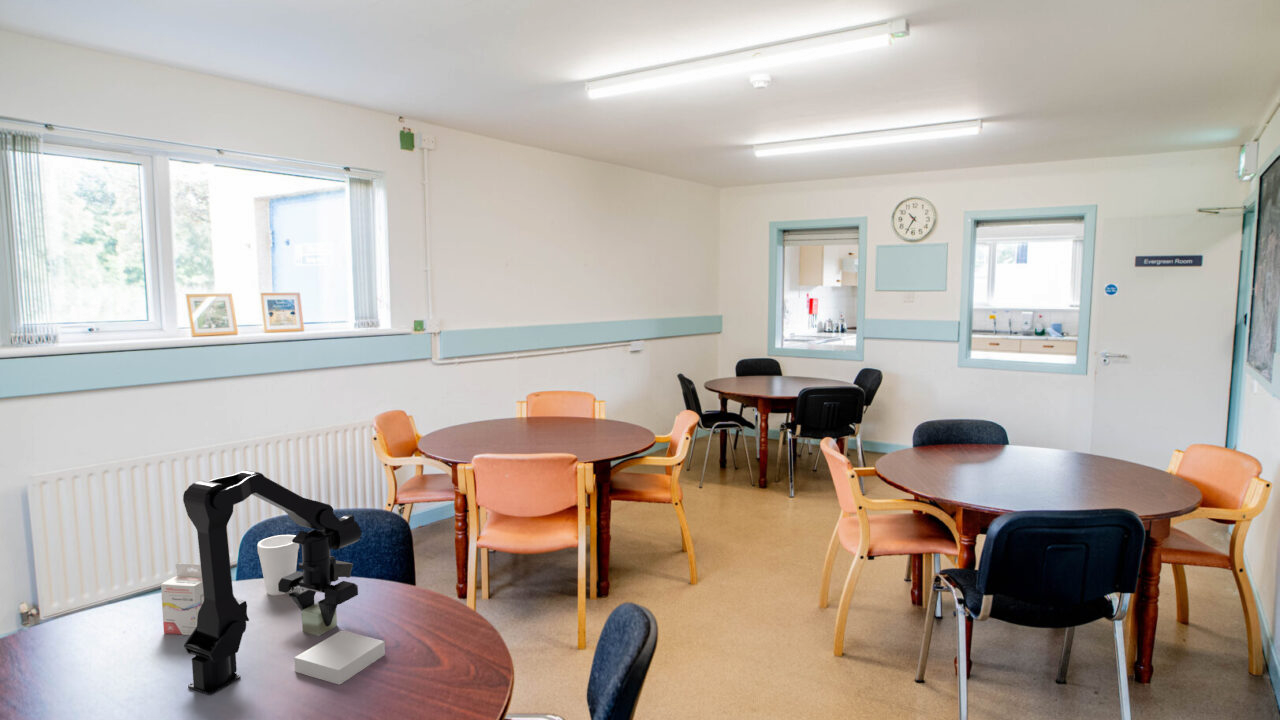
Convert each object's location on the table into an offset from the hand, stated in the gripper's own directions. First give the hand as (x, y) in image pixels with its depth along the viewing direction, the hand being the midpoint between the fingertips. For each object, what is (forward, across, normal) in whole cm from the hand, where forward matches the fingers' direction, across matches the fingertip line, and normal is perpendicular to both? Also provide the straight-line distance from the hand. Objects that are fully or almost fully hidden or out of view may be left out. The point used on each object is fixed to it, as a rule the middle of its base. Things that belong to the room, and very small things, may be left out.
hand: (319, 623), depth 153 cm
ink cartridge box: (+2, +27, +12) cm, 30 cm away
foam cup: (+1, +26, -11) cm, 28 cm away
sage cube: (+1, 0, 0) cm, 1 cm away
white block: (+1, -16, +9) cm, 18 cm away
